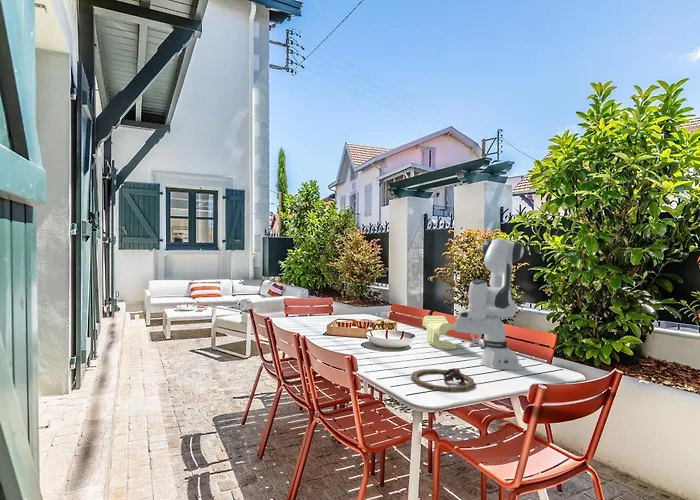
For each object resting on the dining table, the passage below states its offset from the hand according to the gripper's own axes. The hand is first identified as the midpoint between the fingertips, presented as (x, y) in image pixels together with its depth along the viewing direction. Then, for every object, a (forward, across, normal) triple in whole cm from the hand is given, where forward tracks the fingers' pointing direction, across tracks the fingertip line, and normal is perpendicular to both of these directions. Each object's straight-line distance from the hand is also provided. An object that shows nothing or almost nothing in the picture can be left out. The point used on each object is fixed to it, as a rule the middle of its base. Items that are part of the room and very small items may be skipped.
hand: (475, 342), depth 199 cm
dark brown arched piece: (+21, +9, +1) cm, 22 cm away
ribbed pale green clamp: (+20, +19, -79) cm, 84 cm away
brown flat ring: (+20, +15, 0) cm, 25 cm away
